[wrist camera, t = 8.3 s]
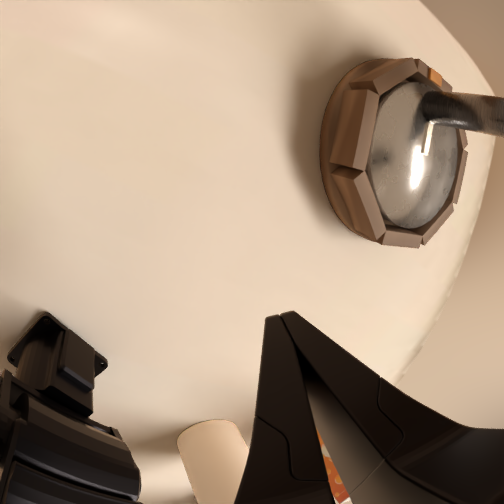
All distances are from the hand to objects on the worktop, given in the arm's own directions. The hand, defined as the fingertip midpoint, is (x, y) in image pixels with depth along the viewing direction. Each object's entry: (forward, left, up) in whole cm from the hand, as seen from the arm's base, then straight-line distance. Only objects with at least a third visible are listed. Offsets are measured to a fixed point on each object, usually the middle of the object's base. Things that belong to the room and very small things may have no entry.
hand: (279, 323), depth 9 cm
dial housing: (+18, -7, -13) cm, 23 cm away
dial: (+18, -7, -11) cm, 22 cm away
